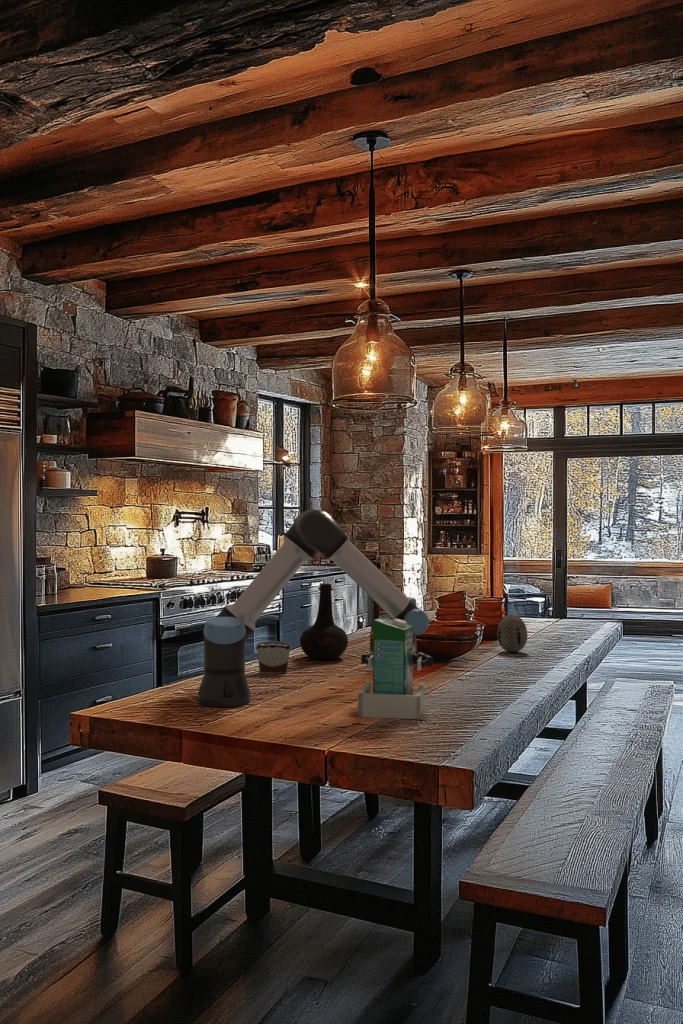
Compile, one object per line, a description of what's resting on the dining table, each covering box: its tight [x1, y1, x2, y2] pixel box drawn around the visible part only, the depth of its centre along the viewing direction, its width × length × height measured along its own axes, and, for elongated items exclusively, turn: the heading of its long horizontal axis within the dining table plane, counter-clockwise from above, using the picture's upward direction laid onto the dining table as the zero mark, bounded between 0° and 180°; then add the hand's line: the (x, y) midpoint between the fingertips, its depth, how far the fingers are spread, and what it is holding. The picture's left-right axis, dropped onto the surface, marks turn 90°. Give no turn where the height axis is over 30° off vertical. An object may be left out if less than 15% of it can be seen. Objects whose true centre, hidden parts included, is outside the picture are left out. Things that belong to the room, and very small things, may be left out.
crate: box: [357, 680, 425, 720], centre depth 227 cm, size 17×16×6 cm
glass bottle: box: [299, 583, 349, 661], centre depth 311 cm, size 18×18×28 cm
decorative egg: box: [496, 613, 528, 653], centre depth 327 cm, size 12×12×15 cm
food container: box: [255, 640, 292, 674], centre depth 283 cm, size 12×6×10 cm, turn 84°
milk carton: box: [372, 616, 414, 695], centre depth 229 cm, size 9×9×25 cm
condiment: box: [369, 624, 373, 653], centre depth 315 cm, size 7×8×12 cm
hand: (393, 665), depth 227 cm, fingers open, 13 cm apart
